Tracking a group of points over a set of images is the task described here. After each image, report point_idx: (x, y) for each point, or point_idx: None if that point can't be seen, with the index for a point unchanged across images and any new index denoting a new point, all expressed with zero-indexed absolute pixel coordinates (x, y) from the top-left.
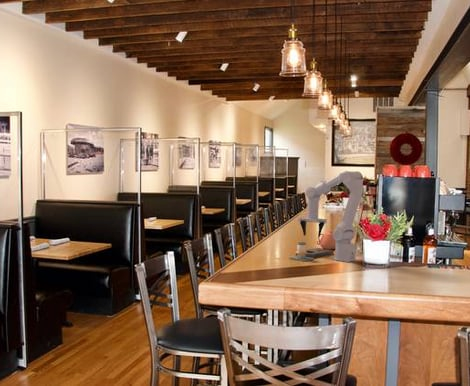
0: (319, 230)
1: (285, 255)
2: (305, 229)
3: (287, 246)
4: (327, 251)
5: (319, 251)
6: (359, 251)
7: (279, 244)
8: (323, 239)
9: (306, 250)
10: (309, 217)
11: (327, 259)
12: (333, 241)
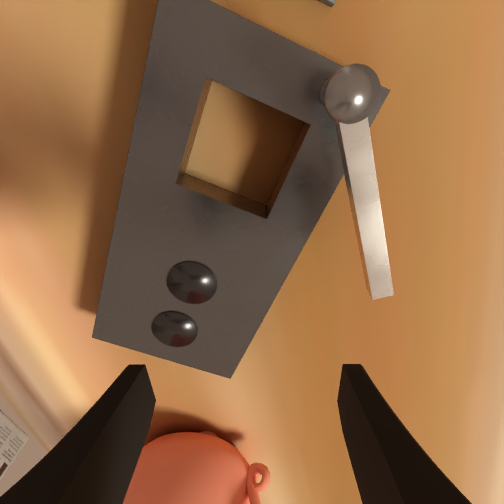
0: (70, 453)
1: (492, 26)
2: (367, 494)
3: (449, 428)
4: (106, 269)
5: (163, 234)
6: (23, 434)
7: (498, 459)
8: (218, 499)
9: (287, 228)
10: None
11: (17, 28)
12: (146, 483)
